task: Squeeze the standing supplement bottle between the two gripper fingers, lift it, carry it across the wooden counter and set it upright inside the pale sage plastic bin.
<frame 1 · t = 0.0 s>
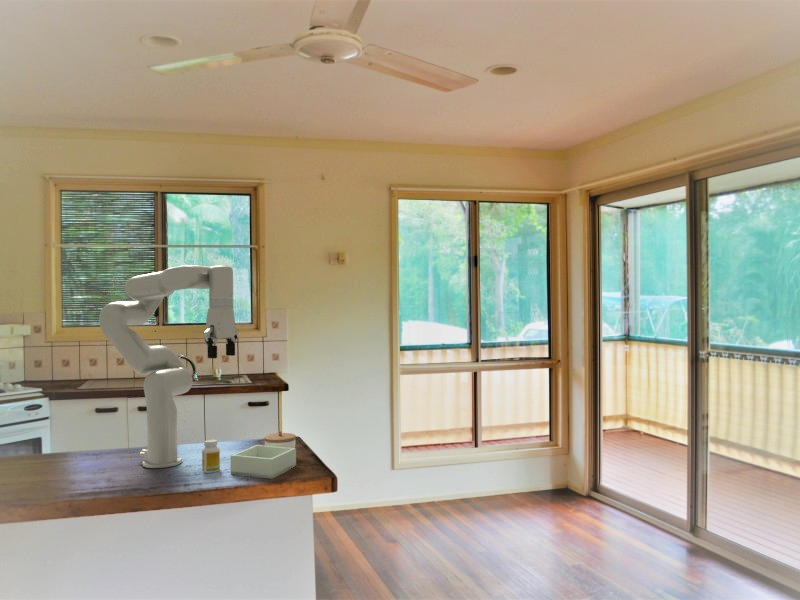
hand: (221, 356, 203), 37 cm above the table, tool pointing down, fingers open, 9 cm apart
bin: (264, 470, 202), on the table
lidded jar: (280, 459, 217), on the table
supplement bottle: (211, 471, 202), on the table
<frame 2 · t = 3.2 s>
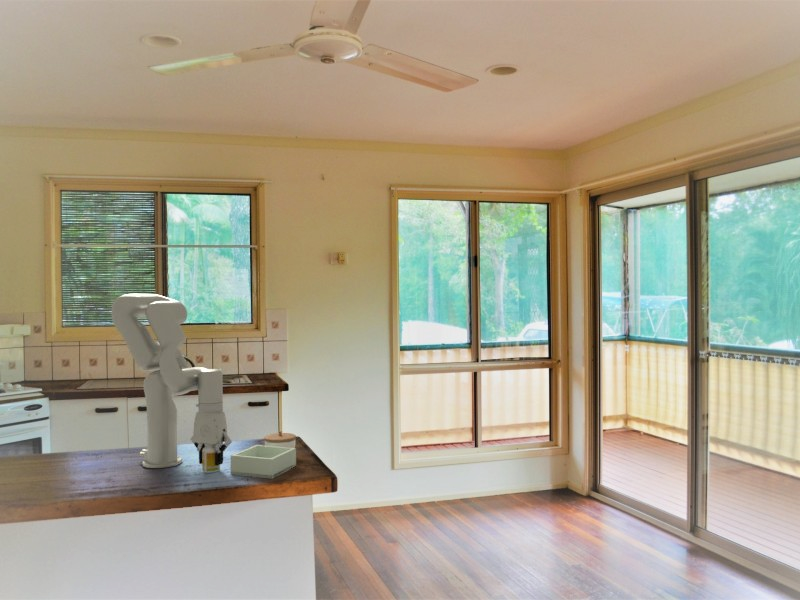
hand: (211, 463, 202), 3 cm above the table, tool pointing down, fingers closed on supplement bottle, 5 cm apart
supplement bottle: (211, 471, 202), on the table, touching gripper
everything else where it was.
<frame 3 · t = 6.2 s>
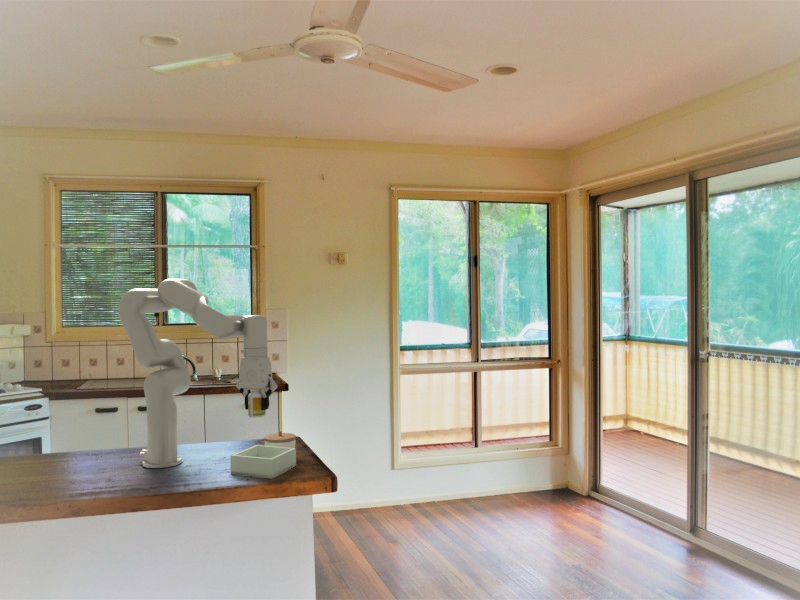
hand: (256, 408, 202), 20 cm above the table, tool pointing down, fingers closed on supplement bottle, 5 cm apart
supplement bottle: (257, 416, 202), point 17 cm above the table, touching gripper
everything else where it was.
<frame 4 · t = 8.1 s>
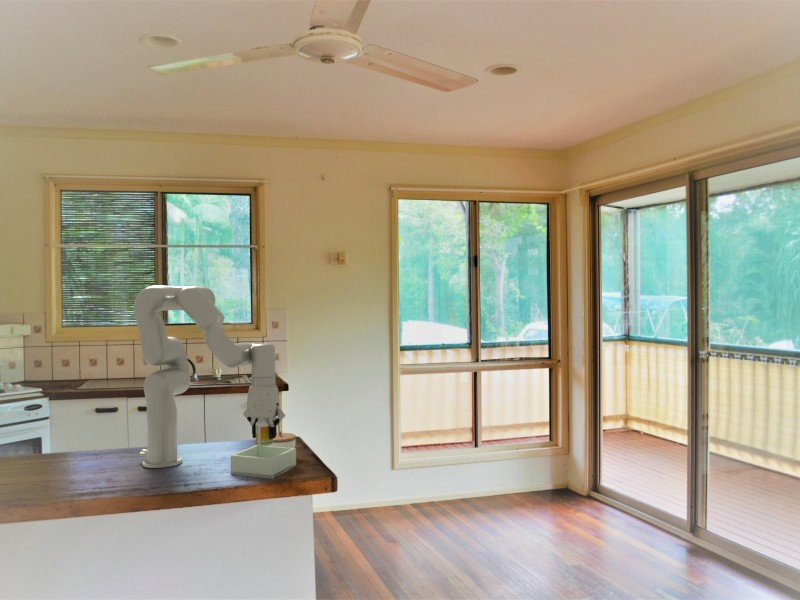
hand: (264, 437, 202), 11 cm above the table, tool pointing down, fingers closed on supplement bottle, 5 cm apart
supplement bottle: (264, 445, 202), point 8 cm above the table, touching gripper
everything else where it was.
when the fingers open (5 cm above the table, at t = 9.5 s): supplement bottle drops 2 cm, resting on bin.
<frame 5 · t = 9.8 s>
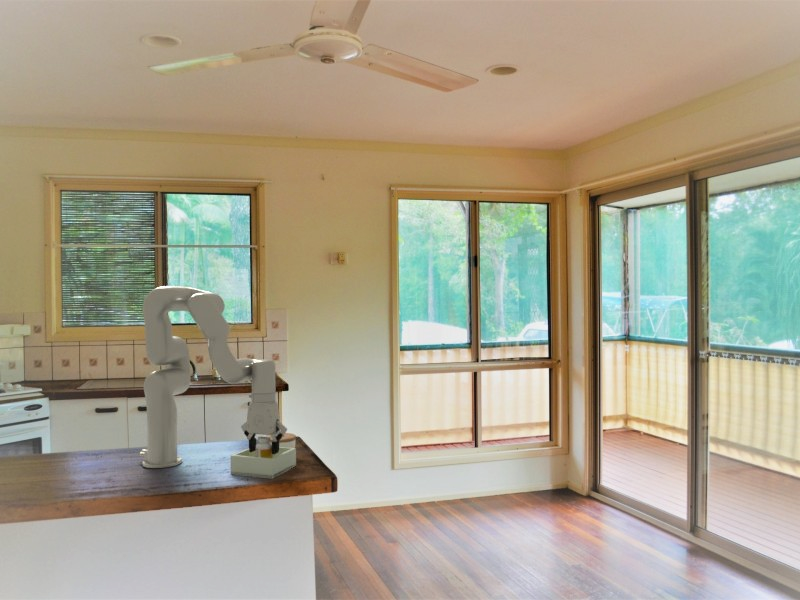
hand: (264, 452, 202), 6 cm above the table, tool pointing down, fingers open, 7 cm apart
supplement bottle: (264, 467, 202), point 1 cm above the table, touching bin
everything else where it was.
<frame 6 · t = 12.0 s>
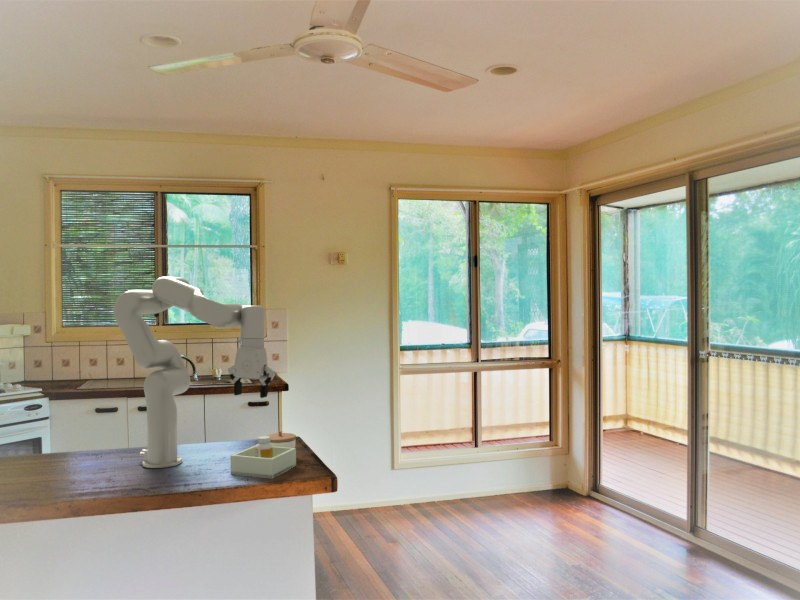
hand: (250, 395, 203), 24 cm above the table, tool pointing down, fingers open, 9 cm apart
nothing on the table moved.
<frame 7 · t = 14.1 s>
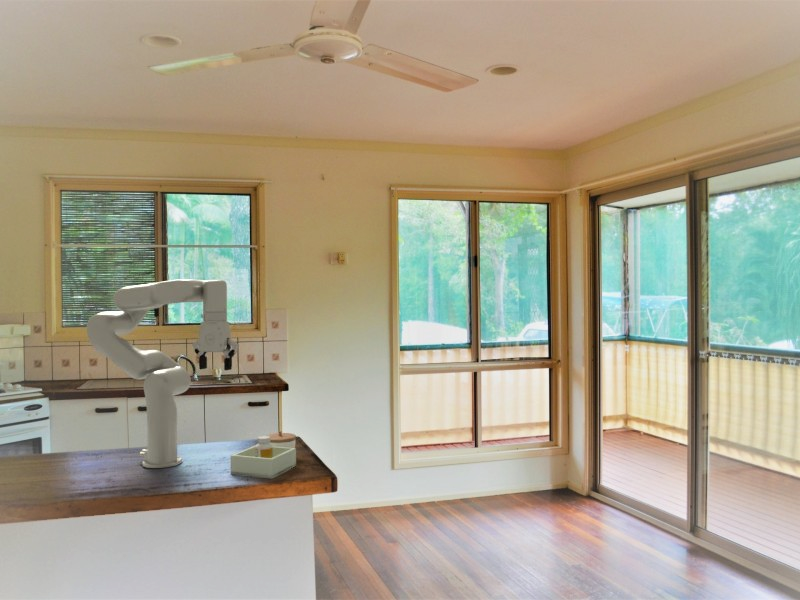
hand: (215, 369, 206), 32 cm above the table, tool pointing down, fingers open, 9 cm apart
nothing on the table moved.
at the end: supplement bottle inside the target area on the bin (0.1 cm from its centre), point 0.8 cm above the bin's base; supplement bottle tilted 0°; the gripper is holding nothing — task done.
